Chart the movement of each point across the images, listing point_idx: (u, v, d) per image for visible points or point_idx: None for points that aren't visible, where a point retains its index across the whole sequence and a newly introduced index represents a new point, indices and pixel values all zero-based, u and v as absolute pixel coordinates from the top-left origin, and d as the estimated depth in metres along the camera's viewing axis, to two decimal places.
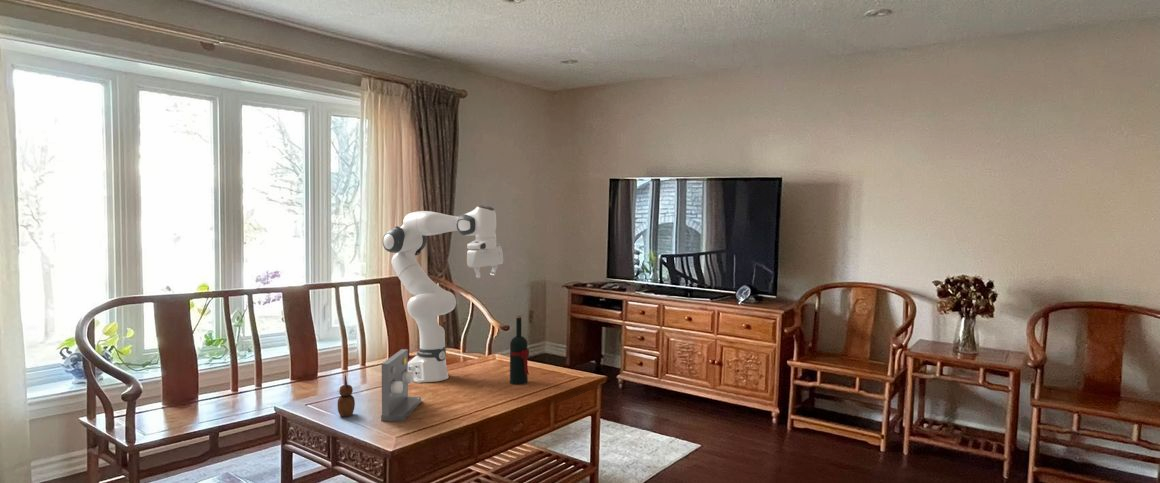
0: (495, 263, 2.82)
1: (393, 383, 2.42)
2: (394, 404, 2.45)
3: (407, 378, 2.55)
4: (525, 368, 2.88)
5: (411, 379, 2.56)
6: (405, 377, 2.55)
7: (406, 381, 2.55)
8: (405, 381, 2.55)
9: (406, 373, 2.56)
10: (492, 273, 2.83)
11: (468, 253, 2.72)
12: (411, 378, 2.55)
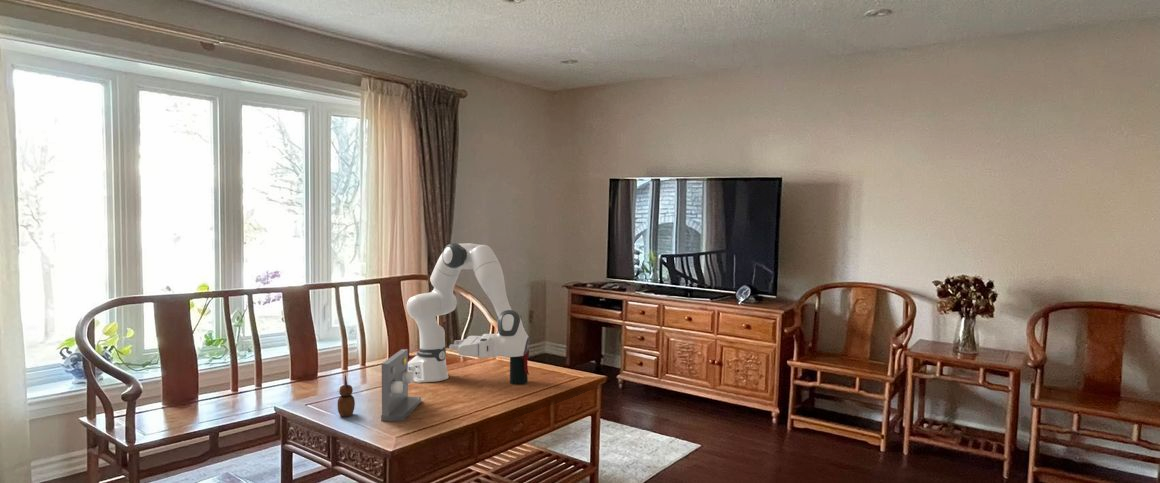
0: None
1: (393, 383, 2.42)
2: (394, 404, 2.45)
3: (407, 378, 2.55)
4: (525, 368, 2.88)
5: (411, 379, 2.56)
6: (405, 377, 2.55)
7: (406, 381, 2.55)
8: (405, 381, 2.55)
9: (406, 373, 2.56)
10: (456, 344, 2.59)
11: (473, 346, 2.46)
12: (411, 378, 2.55)
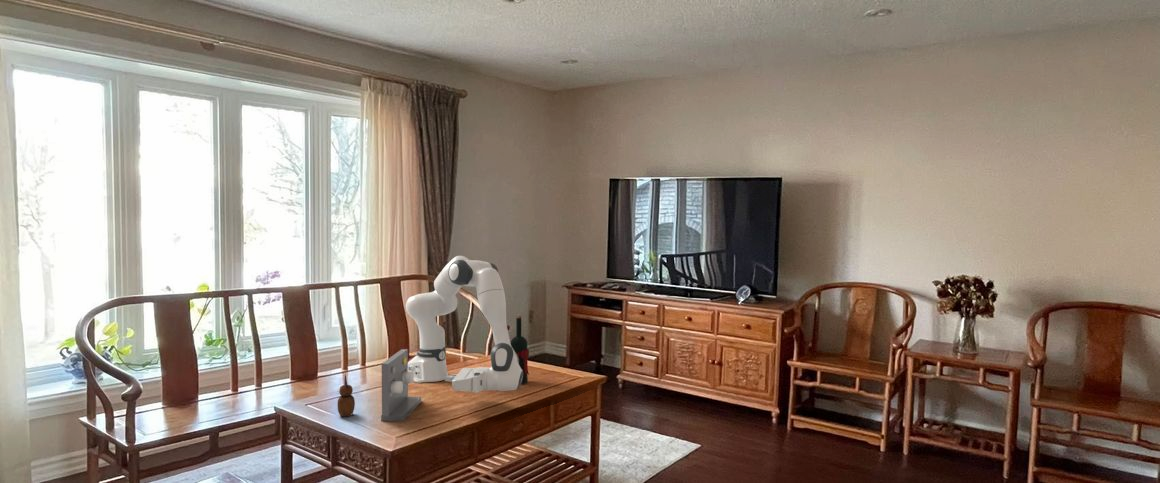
0: None
1: (393, 383, 2.42)
2: (394, 404, 2.45)
3: (407, 378, 2.55)
4: (525, 368, 2.88)
5: (411, 379, 2.56)
6: (405, 377, 2.55)
7: (406, 381, 2.55)
8: (405, 381, 2.55)
9: (406, 373, 2.56)
10: None
11: (467, 381, 2.47)
12: (411, 378, 2.55)
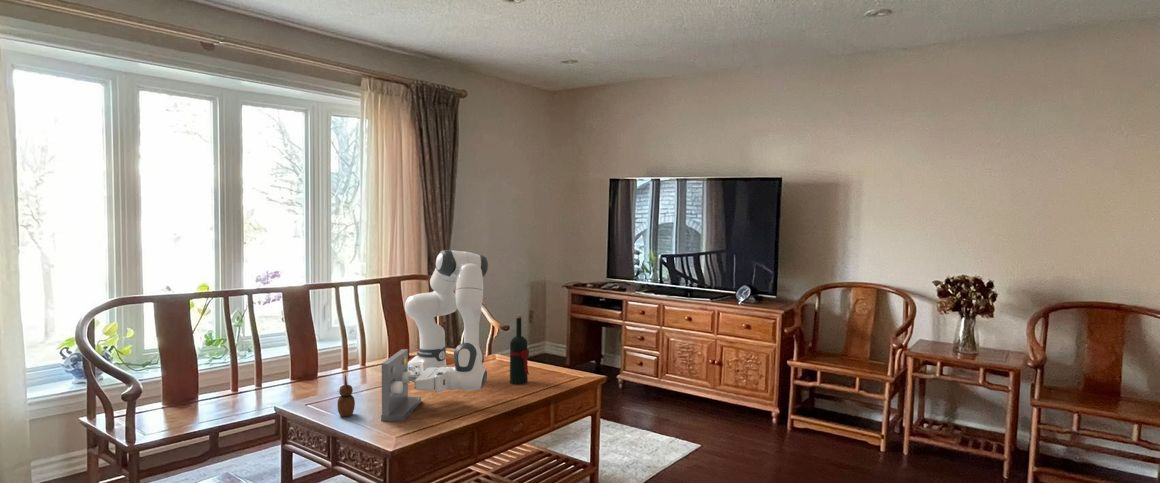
0: None
1: (393, 383, 2.42)
2: (394, 404, 2.45)
3: (404, 378, 2.55)
4: (525, 368, 2.88)
5: None
6: (402, 377, 2.55)
7: (403, 381, 2.55)
8: (402, 381, 2.55)
9: (403, 373, 2.56)
10: None
11: (429, 380, 2.47)
12: None
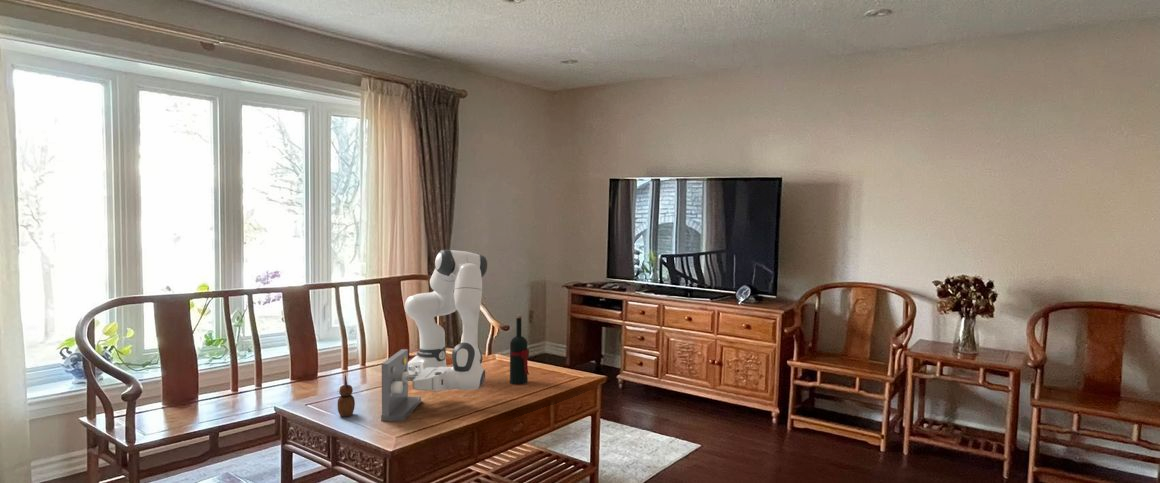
0: None
1: (393, 383, 2.42)
2: (394, 404, 2.45)
3: (402, 378, 2.55)
4: (525, 368, 2.88)
5: (406, 379, 2.56)
6: None
7: None
8: None
9: None
10: None
11: (427, 380, 2.47)
12: (406, 378, 2.55)
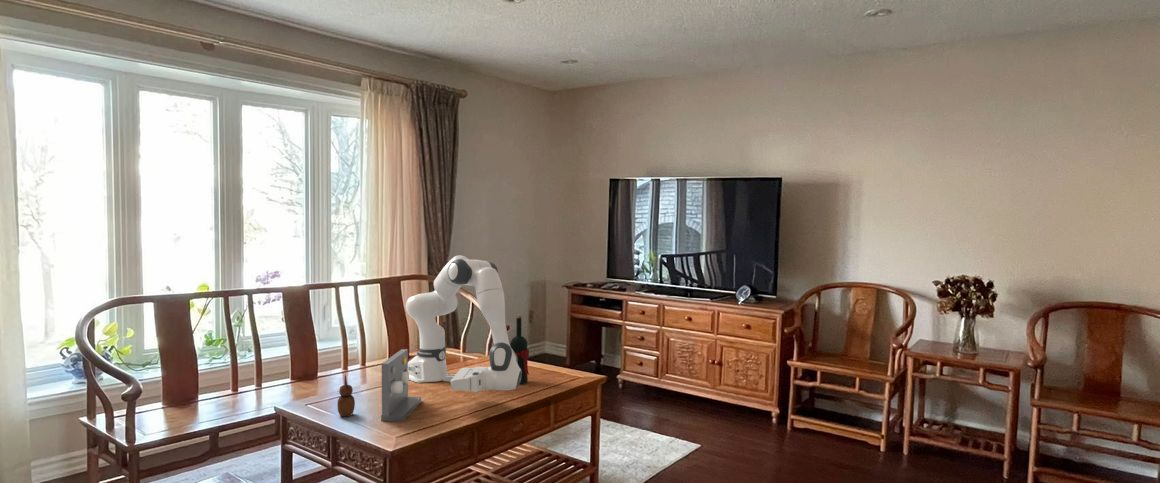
0: None
1: (393, 383, 2.42)
2: (394, 404, 2.45)
3: (402, 378, 2.55)
4: (525, 368, 2.88)
5: (406, 379, 2.56)
6: None
7: None
8: None
9: None
10: None
11: (465, 380, 2.47)
12: (406, 378, 2.55)
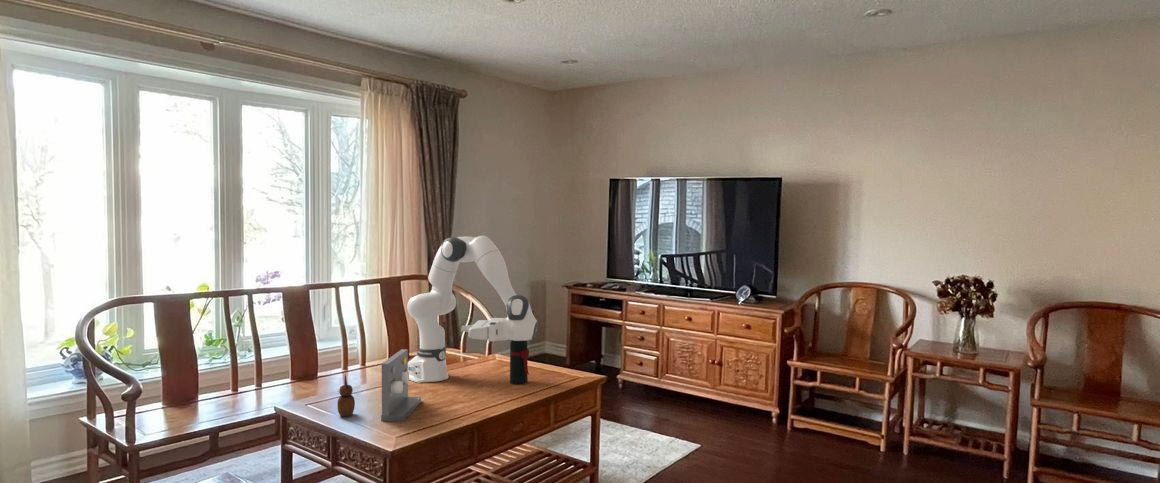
0: None
1: (393, 383, 2.42)
2: (394, 404, 2.45)
3: (402, 378, 2.55)
4: (525, 368, 2.88)
5: (406, 379, 2.56)
6: None
7: None
8: None
9: None
10: None
11: (483, 329, 2.51)
12: (406, 378, 2.55)
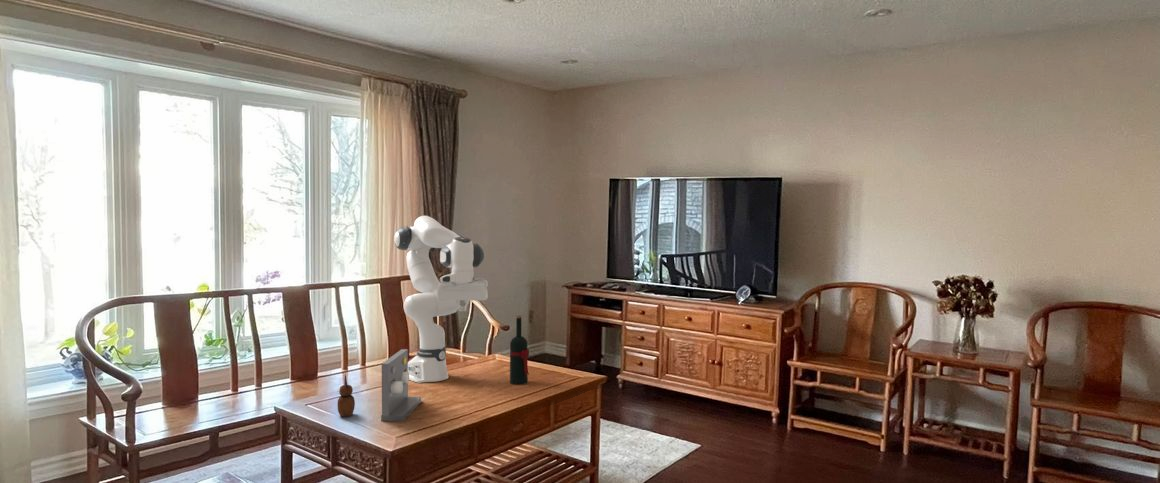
0: (472, 298, 2.67)
1: (393, 383, 2.42)
2: (394, 404, 2.45)
3: (402, 378, 2.55)
4: (525, 368, 2.88)
5: (406, 379, 2.56)
6: None
7: None
8: None
9: None
10: None
11: None
12: (406, 378, 2.55)
